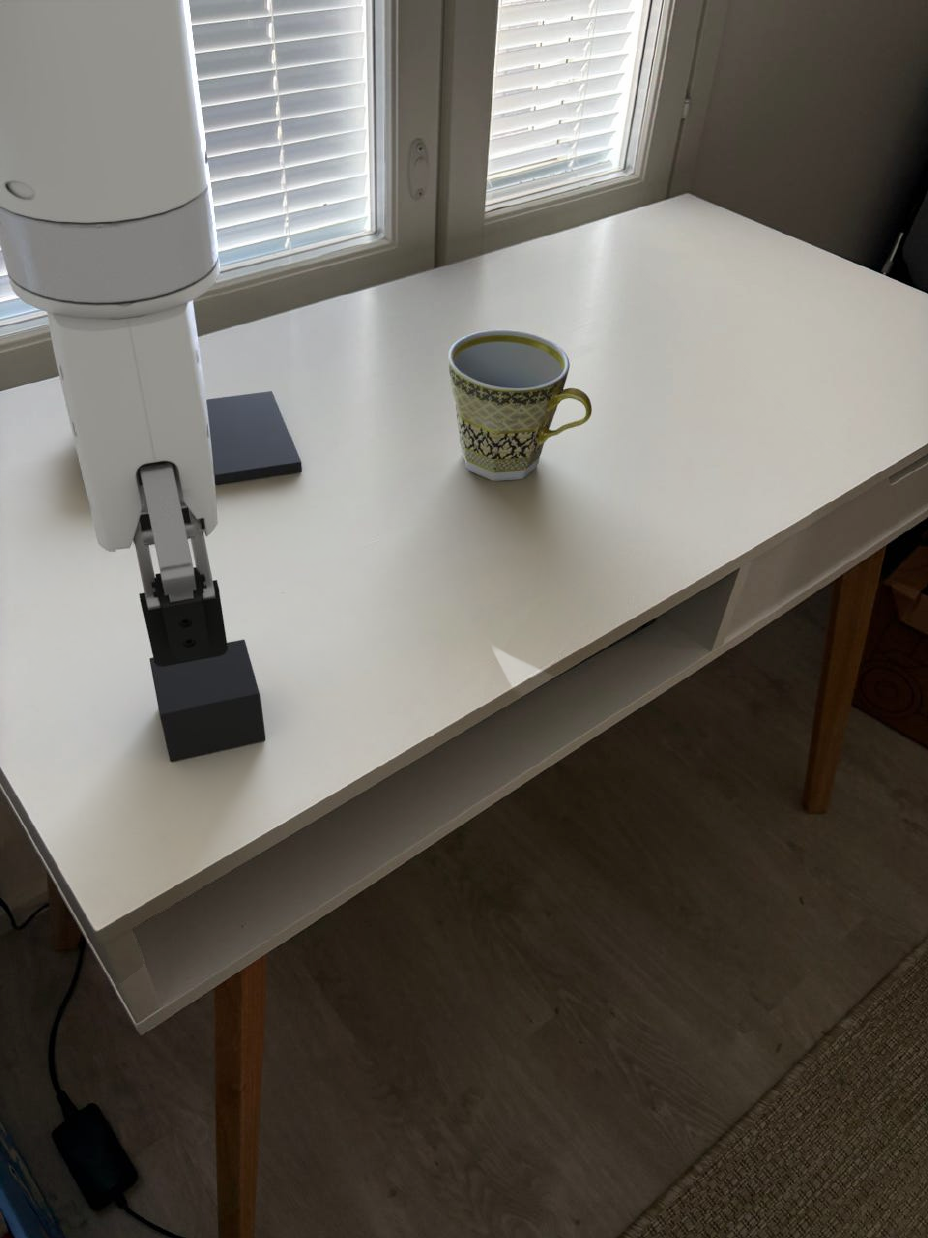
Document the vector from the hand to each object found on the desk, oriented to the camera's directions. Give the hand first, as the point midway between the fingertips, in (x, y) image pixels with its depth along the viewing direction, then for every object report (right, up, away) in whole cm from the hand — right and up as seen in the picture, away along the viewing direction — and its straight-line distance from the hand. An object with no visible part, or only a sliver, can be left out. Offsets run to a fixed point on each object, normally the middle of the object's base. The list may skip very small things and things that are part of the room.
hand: (177, 587), depth 48 cm
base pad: (-10, +14, +40) cm, 43 cm away
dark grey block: (-3, -8, +17) cm, 19 cm away
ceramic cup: (+18, +12, +41) cm, 46 cm away
